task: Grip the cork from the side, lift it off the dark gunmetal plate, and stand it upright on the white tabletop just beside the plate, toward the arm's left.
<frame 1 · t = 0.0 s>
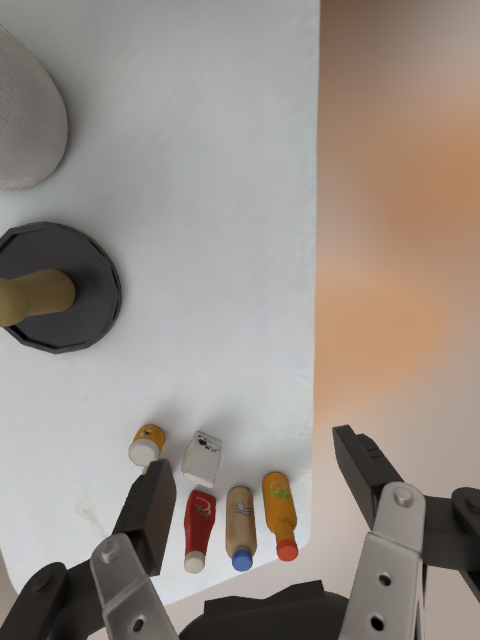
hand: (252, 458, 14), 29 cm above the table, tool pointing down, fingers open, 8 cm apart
cork: (53, 290, 40), point 1 cm above the table, touching metal plate
toy food: (206, 471, 48), on the table
planter: (7, 122, 36), on the table
metal plate: (56, 290, 40), on the table
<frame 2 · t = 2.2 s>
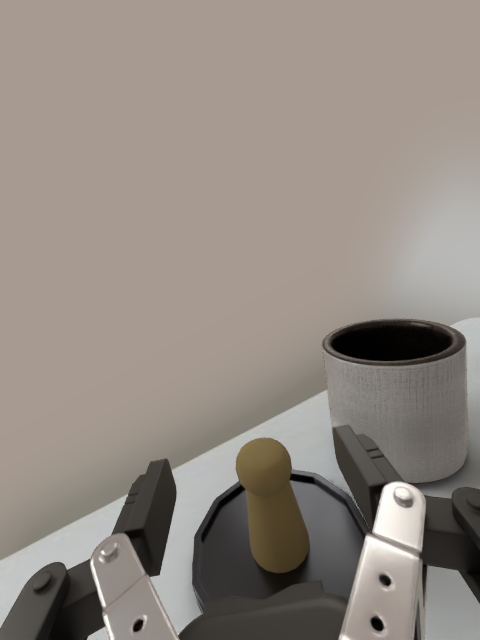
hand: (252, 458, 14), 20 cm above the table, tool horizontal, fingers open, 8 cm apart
cork: (279, 541, 29), point 1 cm above the table, touching metal plate
planter: (394, 443, 40), on the table
metal plate: (280, 546, 29), on the table
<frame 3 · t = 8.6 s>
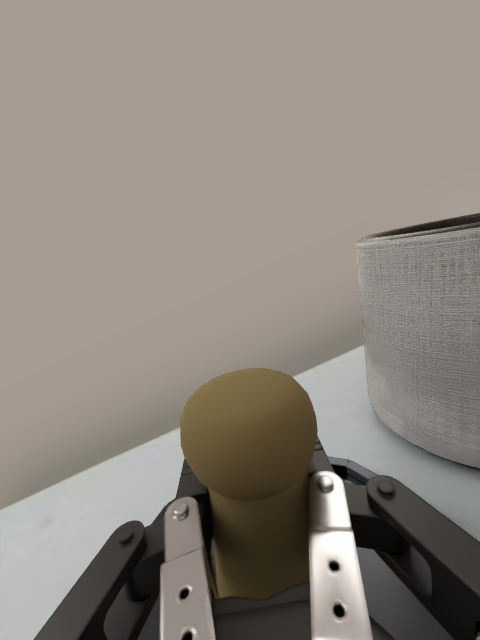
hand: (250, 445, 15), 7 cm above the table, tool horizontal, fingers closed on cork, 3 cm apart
cork: (284, 600, 13), point 1 cm above the table, touching gripper, metal plate
planter: (475, 413, 24), on the table
metal plate: (286, 609, 14), on the table
when the fingers open (6 cm above the table, at t = 16.0 s): cork stays where it is, on the table.
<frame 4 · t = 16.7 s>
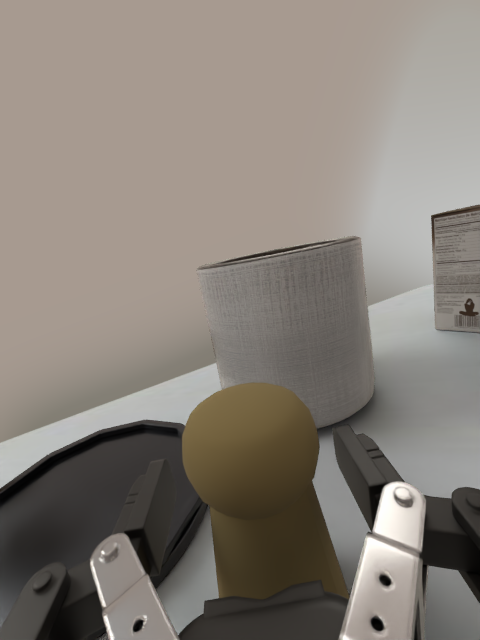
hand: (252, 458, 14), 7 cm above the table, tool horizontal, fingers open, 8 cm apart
cork: (286, 613, 13), on the table
coffee box: (470, 323, 42), on the table
planter: (297, 394, 32), on the table
metal plate: (94, 507, 22), on the table
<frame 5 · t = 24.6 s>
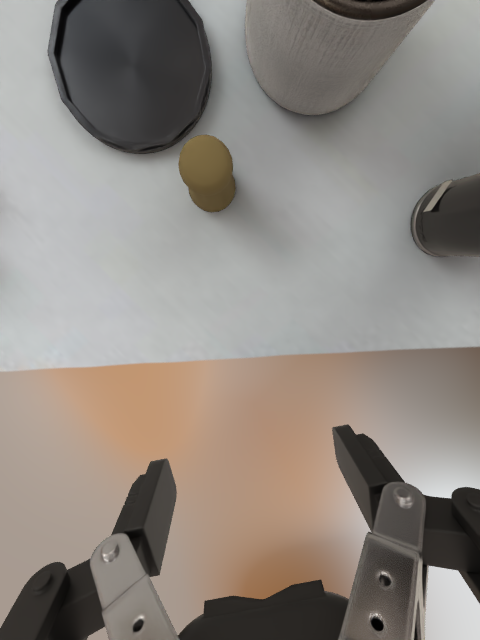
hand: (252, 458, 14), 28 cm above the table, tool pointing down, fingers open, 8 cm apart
cork: (212, 187, 37), on the table
planter: (312, 43, 34), on the table
metal plate: (134, 68, 34), on the table
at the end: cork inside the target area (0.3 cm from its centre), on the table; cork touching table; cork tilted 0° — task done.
